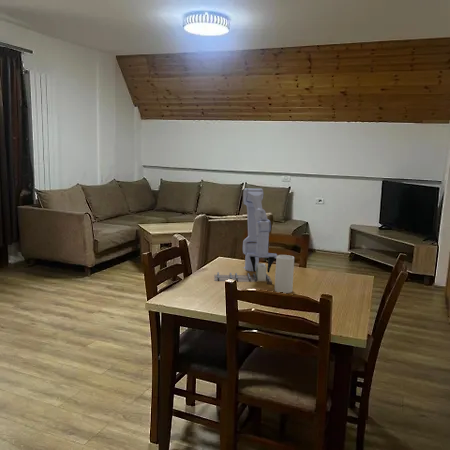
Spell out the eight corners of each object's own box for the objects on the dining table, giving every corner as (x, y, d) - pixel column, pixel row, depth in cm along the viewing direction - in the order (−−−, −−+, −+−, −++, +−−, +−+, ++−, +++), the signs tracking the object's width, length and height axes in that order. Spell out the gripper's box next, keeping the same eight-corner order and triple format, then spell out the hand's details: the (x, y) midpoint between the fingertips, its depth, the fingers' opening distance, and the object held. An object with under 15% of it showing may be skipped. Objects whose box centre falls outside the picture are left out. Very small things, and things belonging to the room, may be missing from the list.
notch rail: (214, 276, 230) (214, 271, 230) (269, 277, 231) (269, 273, 231) (214, 282, 219) (214, 277, 219) (272, 284, 220) (272, 279, 220)
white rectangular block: (255, 276, 229) (256, 263, 228) (264, 276, 229) (264, 263, 228) (257, 281, 221) (257, 267, 220) (266, 281, 222) (266, 267, 220)
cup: (291, 293, 207) (293, 259, 204) (273, 292, 208) (275, 258, 206) (292, 288, 215) (294, 255, 212) (275, 287, 216) (277, 254, 214)
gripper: (248, 246, 218) (247, 273, 221) (278, 247, 219) (276, 274, 221) (247, 243, 225) (246, 269, 228) (276, 244, 226) (274, 270, 228)
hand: (261, 271), depth 225 cm, fingers open, 6 cm apart
